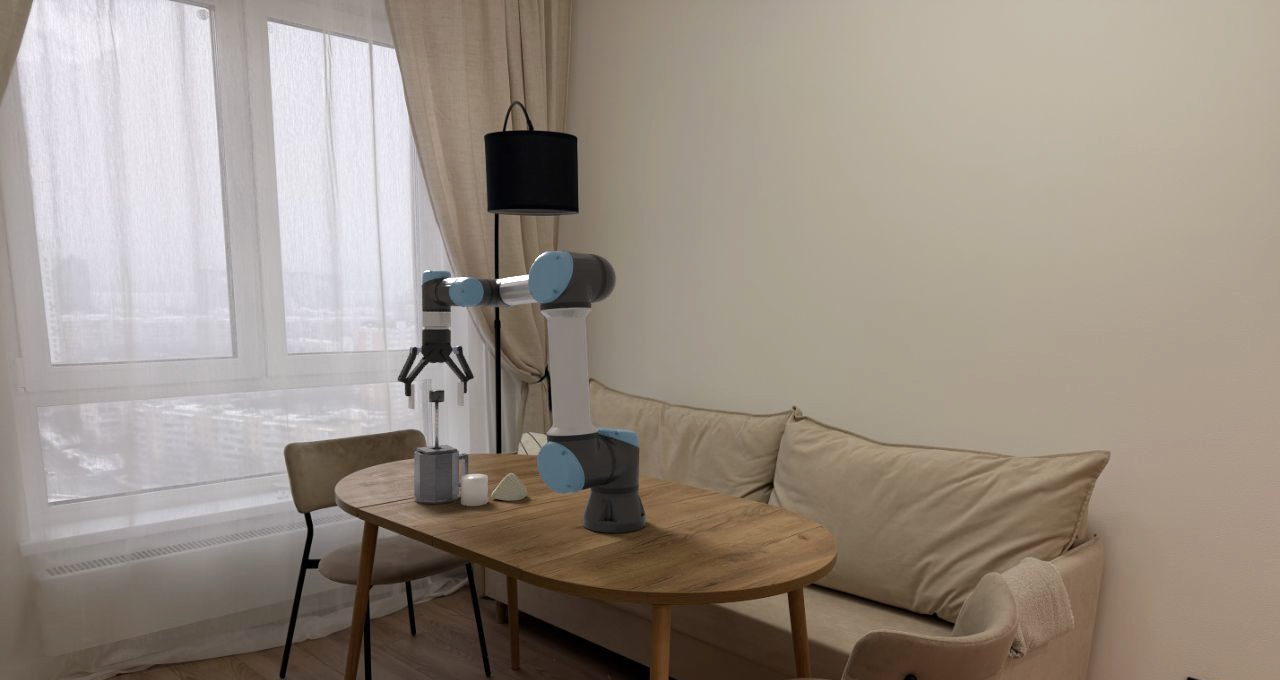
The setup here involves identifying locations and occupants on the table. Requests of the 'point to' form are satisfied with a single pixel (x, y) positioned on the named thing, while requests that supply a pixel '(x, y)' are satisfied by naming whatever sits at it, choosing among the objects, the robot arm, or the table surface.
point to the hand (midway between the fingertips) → (436, 407)
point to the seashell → (510, 489)
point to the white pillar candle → (474, 489)
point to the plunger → (436, 411)
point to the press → (438, 474)
